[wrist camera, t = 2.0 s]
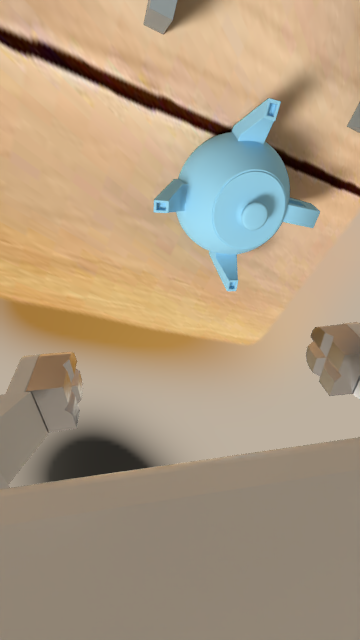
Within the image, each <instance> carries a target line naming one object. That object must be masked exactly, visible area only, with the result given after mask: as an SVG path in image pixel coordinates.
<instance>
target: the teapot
mask: <svg viewBox="0 0 360 640" xmlns="http://www.w3.org/2000/svg"><path fill="white" fill-rule="evenodd" d="M280 103H281V101H277V100H274V99H270V98H268V99H267V100H265V101H264V102H263V103H262V104H260V105H259V106H258V107H257V108H255V109H254V110H253V111H252V112H250V113H249V114H248V115H247V116H245V117H244V118H243V119H242V120H240V121H239V122H238V123H237V124H235V125H234V126H233V129H232V132H230V133H224V134H220V135H217V136H215V137H212V138H211V139H209V140H207V141H205V142H204V143H203V144H201V145H200V146H199V147H198V148H197V149H196V150H195V151H194V152H193V153H192V154H191V155H190V157H189V158H188V159H187V161H186V162H185V164H184V166H183V168H182V170H181V172H180V174H179V178H178V179H174V180H173V181H172V182H171V183H170V184H169V185H168V186H167V187H166V188H165V189H164V190H163V191H162V192H161V193H160V194H159V195H158V196H157V197H156V198H155V199H154V212H158V213H169V212H176V213H177V217H178V219H179V222H180V224H181V226H182V228H183V229H184V231H185V232H186V234H187V235H188V236H189V237H190V238H191V240H193V241H194V242H195V243H196V244H198V245H199V246H201V247H203V248H204V249H207V250H209V255H210V257H211V259H212V261H213V263H214V265H215V267H216V269H217V271H218V274H219V276H220V278H221V280H222V282H223V284H224V286H225V288H226V290H227V291H236V289H237V284H238V277H237V254H241V253H245V252H248V251H251V250H253V249H255V248H257V247H259V246H261V245H262V244H264V243H265V242H267V241H268V240H269V239H270V238H271V237H272V236H273V235H274V234H275V233H276V231H277V230H278V229H279V227H280V226H281V224H282V222H286V223H291V224H296V225H301V226H305V227H310V228H313V227H314V225H315V223H316V220H317V218H318V216H319V213H320V211H319V210H318V209H317V208H316V207H315V206H313V205H312V204H311V203H307V202H304V201H300V200H297V199H293V198H290V183H289V177H288V173H287V170H286V167H285V165H284V163H283V161H282V159H281V157H280V156H279V155H278V153H277V152H276V151H275V150H274V149H273V148H272V147H271V146H270V145H269V144H268V143H267V142H265V140H266V138H267V135H268V133H269V131H270V129H271V127H272V124H273V122H274V121H275V120H276V117H277V113H278V110H279V107H280Z"/></svg>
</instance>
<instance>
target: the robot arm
mask: <svg viewBox="0 0 360 640" xmlns="http://www.w3.org/2000/svg"><path fill="white" fill-rule="evenodd" d="M311 338H312V340H313V342H312V343H311V344H310V345H309V346H308V348H307V352H306V359H307V363H308V366H309V368H310V369H311V371H312V372H313V373H315V374H317V375H318V376H320V379H319V382H320V384H321V385H322V386H323V388H324V389H325V391H326V392H327V393H328V395H329V396H334V395H345V394H353V395H354V396H356V397H357V398H359V399H360V323H358V322H353V323H345V324H339V325H330V326H322V327H315V328H314V329H313V331H312V333H311ZM76 364H77V360H76V356H75V354H74V353H73V352H62V353H50V354H41V355H28V356H24V357H22V358H21V360H20V362H19V364H18V367H17V369H16V371H15V374H14V376H13V378H12V380H11V382H10V385H9V387H8V389H7V392H6V394H4V395H0V640H360V437H358V438H352V439H345V440H337V441H332V442H324V443H318V444H310V445H303V446H296V447H289V448H283V449H276V450H269V451H262V452H255V453H248V454H241V455H234V456H227V457H220V458H213V459H206V460H199V461H193V462H186V463H179V464H172V465H165V466H158V467H151V468H144V469H137V470H131V471H123V472H116V473H109V474H103V475H96V476H89V477H82V478H75V479H68V480H61V481H54V482H47V483H41V484H34V485H27V486H20V487H13V488H10V487H9V483H10V482H11V481H12V480H13V478H14V477H15V476H16V474H17V473H18V472H19V471H20V469H21V468H22V467H23V466H24V464H25V463H26V462H27V461H28V459H29V458H30V457H31V456H32V454H33V453H34V452H35V451H36V449H37V448H38V447H39V446H40V444H41V443H42V442H43V440H44V439H45V438H46V437H47V436H48V433H49V432H56V431H62V430H68V429H75V428H77V423H78V417H79V411H80V410H79V407H78V403H79V402H80V401H81V399H82V378H81V374H80V371H79V370H77V369H76Z"/></svg>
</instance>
